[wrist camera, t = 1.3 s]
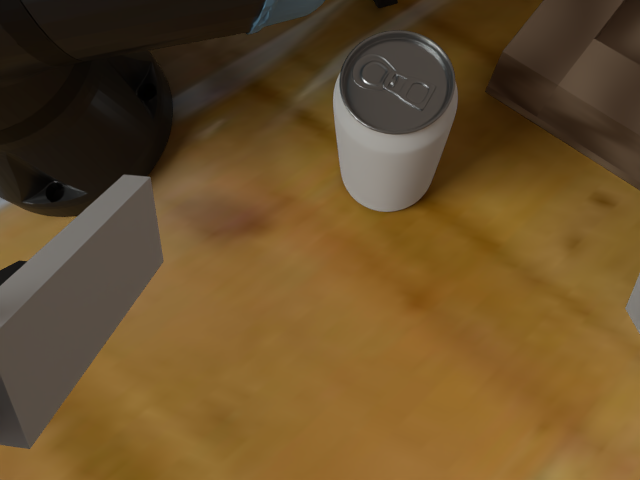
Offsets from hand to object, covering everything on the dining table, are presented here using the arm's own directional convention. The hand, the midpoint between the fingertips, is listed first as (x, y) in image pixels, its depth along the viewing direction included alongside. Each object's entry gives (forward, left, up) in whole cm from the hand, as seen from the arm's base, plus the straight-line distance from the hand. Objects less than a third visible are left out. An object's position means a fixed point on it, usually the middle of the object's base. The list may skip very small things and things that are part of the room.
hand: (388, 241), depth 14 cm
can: (-6, +9, -22) cm, 24 cm away
